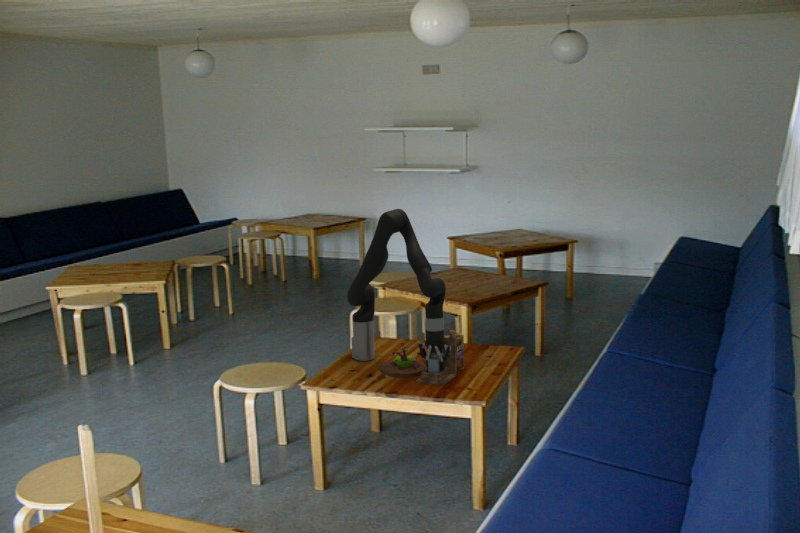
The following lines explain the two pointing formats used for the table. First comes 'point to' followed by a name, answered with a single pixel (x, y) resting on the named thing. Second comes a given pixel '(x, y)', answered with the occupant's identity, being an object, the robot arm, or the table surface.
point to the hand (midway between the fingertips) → (435, 369)
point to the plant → (403, 366)
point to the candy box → (459, 350)
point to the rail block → (434, 365)
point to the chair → (450, 365)
